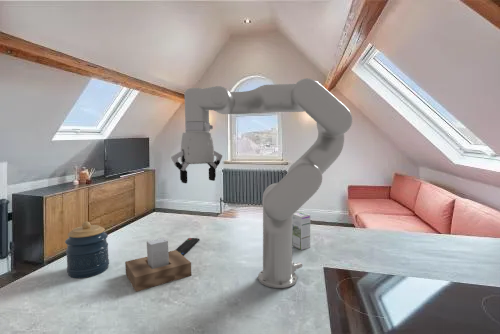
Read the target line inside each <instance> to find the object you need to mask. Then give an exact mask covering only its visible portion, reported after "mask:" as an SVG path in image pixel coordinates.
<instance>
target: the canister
mask: <svg viewBox="0 0 500 334" xmlns="http://www.w3.org/2000/svg"><path fill="white" fill-rule="evenodd" d="M105 231H106V229H105V228H104V227H103V226H101V225H99V224H91V222H90V221H84V222H83V223H82V224H81V226H78V227H74V228H73V229H72V230H70V231H69V232H68V233H67V237H68V238H66V239H65V240H64V244H65V245H66V249H65V253H66V265H67V267H66V273H67V274H68V277H70V278H72V279H85V278H90V277H94V276H97V275H100V274H102V273H104V272H105V271H107V269H109V264H110V259H109V243H108V242H107V238H108V237H109V236H108V235H109V234H108V233H106V232H105Z"/></svg>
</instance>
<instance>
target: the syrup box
mask: <svg viewBox="0 0 500 334" xmlns="http://www.w3.org/2000/svg"><path fill="white" fill-rule="evenodd" d="M292 221H293V233H292V248H293V247H294V248H295V249H299V251H300V250H301V251H303V250H306V249H309V248H311V214H309V213H306V212H303V211H299V212H295V213H294V214H293V215H292Z"/></svg>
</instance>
